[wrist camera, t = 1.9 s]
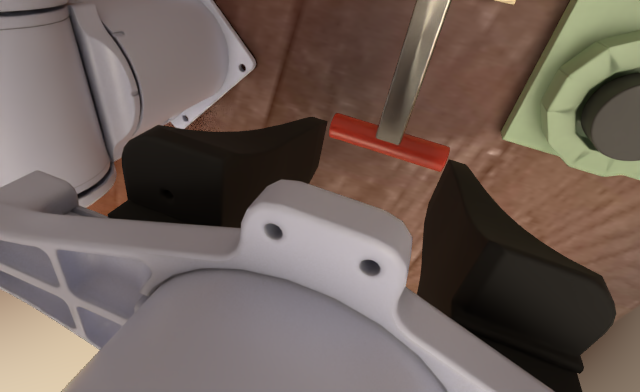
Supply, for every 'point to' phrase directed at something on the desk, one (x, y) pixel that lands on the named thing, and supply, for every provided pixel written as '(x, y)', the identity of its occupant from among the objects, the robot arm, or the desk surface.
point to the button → (615, 118)
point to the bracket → (507, 1)
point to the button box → (577, 83)
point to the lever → (403, 96)
